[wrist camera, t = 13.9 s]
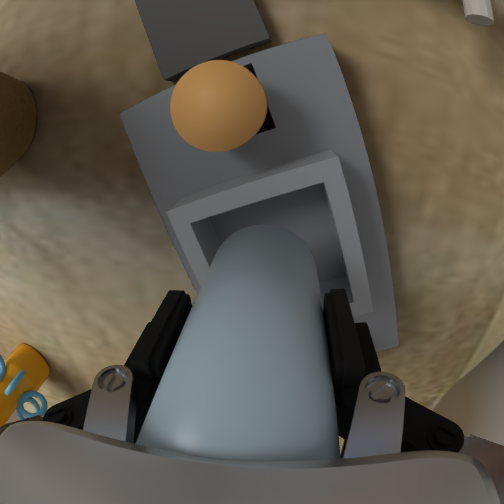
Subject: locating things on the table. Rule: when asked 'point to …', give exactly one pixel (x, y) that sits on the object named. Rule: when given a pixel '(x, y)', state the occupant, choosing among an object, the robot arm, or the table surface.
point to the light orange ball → (218, 106)
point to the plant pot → (15, 120)
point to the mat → (199, 31)
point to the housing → (279, 180)
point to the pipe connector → (479, 12)
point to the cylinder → (22, 382)
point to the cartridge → (251, 359)
